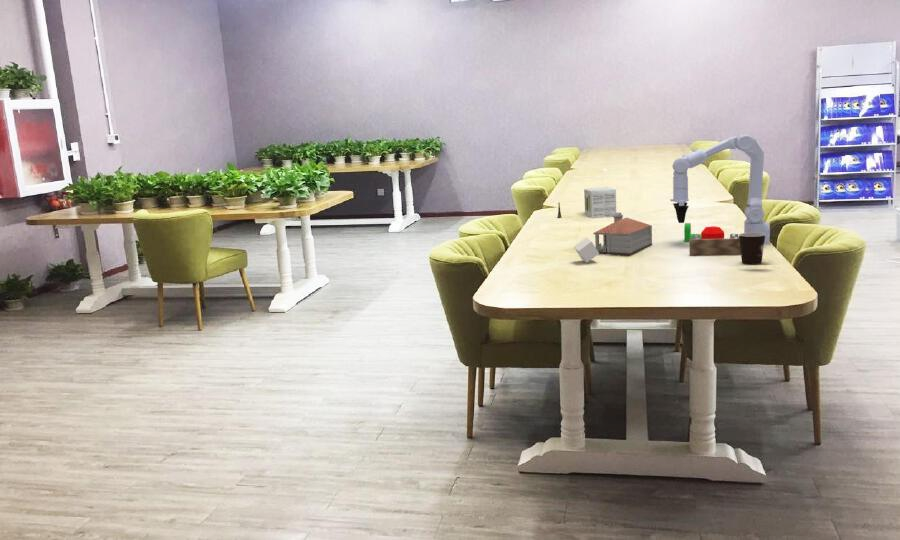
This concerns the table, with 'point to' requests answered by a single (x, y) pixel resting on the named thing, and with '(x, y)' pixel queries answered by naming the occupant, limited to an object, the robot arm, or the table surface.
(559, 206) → the eiffel tower figurine
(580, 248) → the light grey cube
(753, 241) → the coffee mug
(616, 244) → the model house
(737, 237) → the grey round piece
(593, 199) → the supplement box
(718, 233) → the red black angular block
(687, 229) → the mechanical part
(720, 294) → the table surface
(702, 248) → the backstop
